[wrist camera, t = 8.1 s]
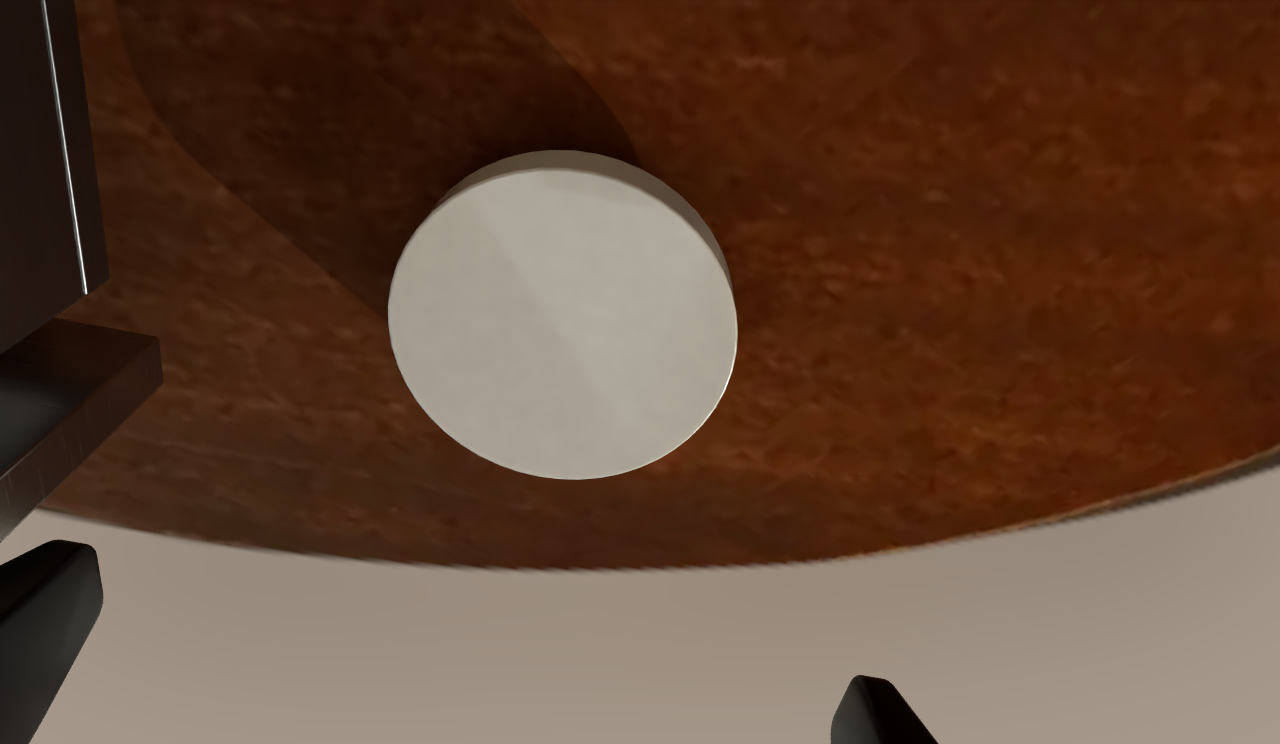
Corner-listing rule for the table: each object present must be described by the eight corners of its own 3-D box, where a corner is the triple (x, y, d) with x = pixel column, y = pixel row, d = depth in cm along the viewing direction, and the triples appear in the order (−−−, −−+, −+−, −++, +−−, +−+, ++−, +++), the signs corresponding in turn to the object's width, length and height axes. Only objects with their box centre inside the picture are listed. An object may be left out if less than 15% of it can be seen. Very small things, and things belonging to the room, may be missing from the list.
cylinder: (691, 456, 20) (692, 505, 18) (403, 402, 19) (378, 448, 18) (771, 180, 16) (781, 211, 15) (423, 106, 16) (396, 131, 14)
